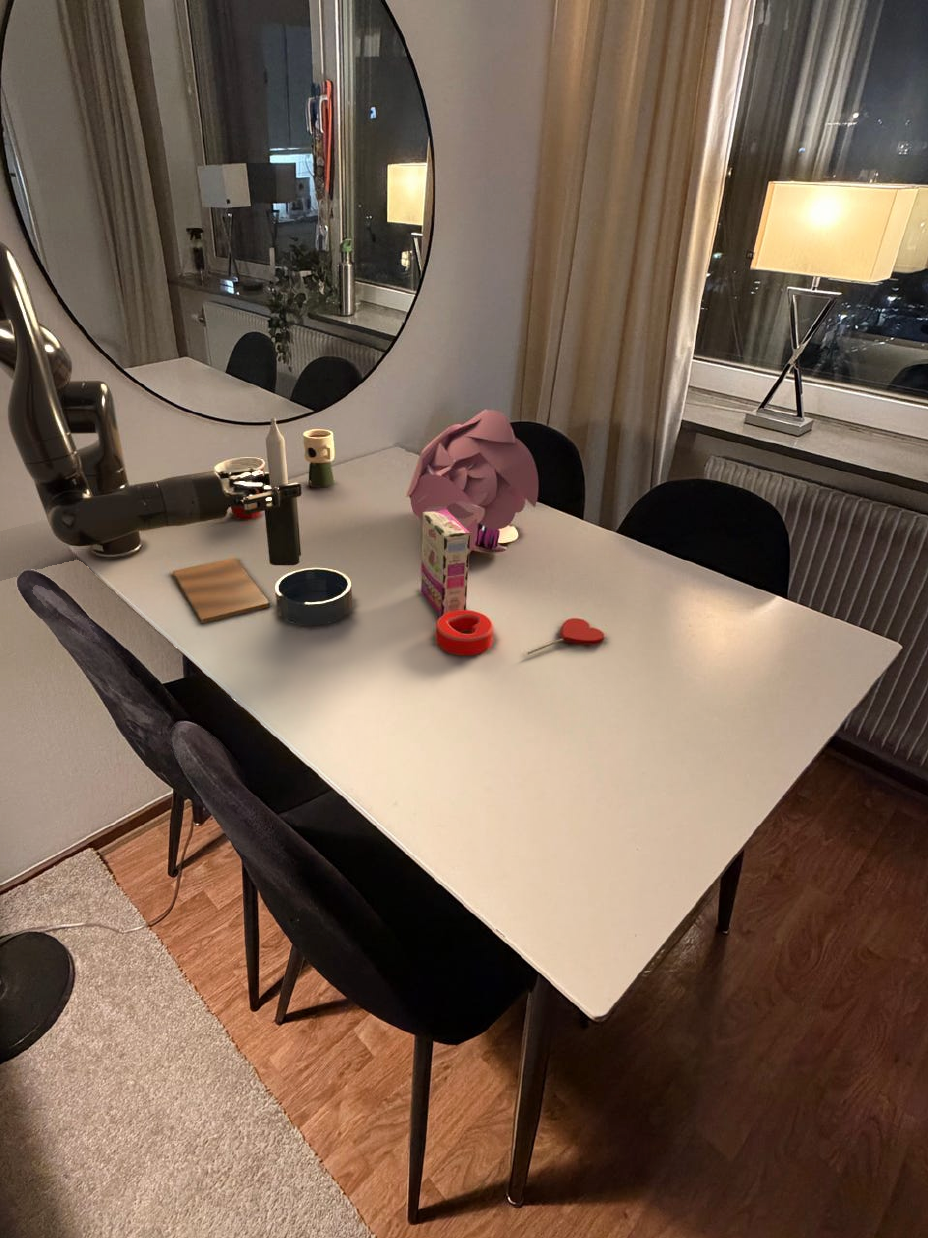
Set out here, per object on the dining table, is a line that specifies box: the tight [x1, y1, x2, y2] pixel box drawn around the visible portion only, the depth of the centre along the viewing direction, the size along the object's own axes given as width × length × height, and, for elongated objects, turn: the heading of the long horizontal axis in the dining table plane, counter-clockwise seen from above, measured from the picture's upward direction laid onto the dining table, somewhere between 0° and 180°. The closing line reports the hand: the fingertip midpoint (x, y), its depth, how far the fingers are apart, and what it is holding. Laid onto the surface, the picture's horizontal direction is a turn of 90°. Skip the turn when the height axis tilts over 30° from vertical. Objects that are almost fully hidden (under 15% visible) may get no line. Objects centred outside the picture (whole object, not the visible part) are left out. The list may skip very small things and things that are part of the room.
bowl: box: [274, 567, 353, 627], centre depth 131 cm, size 13×13×4 cm
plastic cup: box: [213, 456, 266, 521], centre depth 162 cm, size 11×11×12 cm
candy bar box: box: [420, 510, 470, 618], centre depth 131 cm, size 11×5×16 cm, turn 23°
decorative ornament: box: [435, 609, 494, 656], centre depth 125 cm, size 10×10×3 cm
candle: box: [263, 417, 302, 566], centre depth 123 cm, size 5×5×25 cm
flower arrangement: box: [405, 409, 539, 554], centre depth 155 cm, size 35×24×28 cm
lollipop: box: [526, 617, 605, 655], centre depth 125 cm, size 8×1×15 cm
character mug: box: [302, 428, 335, 488], centre depth 179 cm, size 11×7×13 cm, turn 38°
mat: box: [172, 557, 271, 624], centre depth 136 cm, size 20×12×1 cm, turn 32°
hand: (292, 482), depth 123 cm, fingers closed on candle, 6 cm apart
